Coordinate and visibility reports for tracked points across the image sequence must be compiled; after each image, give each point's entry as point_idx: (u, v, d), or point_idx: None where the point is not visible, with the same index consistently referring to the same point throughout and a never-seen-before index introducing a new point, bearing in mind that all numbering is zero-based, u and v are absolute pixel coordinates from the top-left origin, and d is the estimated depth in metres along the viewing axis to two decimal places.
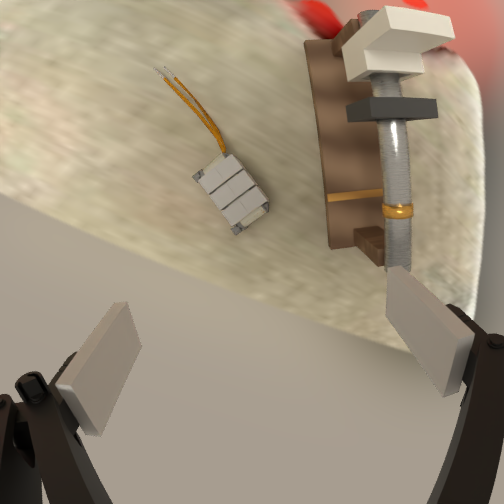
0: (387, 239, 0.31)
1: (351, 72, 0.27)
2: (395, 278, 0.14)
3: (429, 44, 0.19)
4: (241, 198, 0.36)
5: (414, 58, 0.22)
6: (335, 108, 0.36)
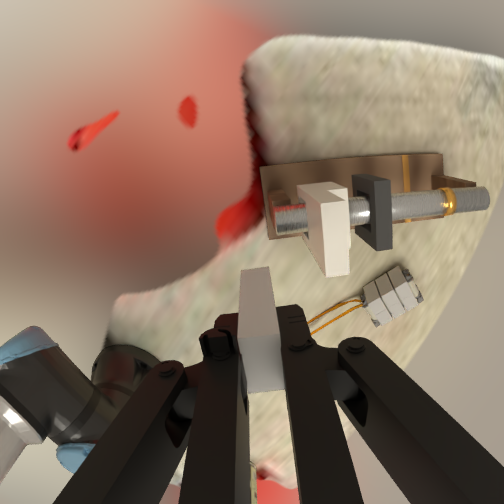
0: None
1: None
2: None
3: None
4: (401, 298, 0.43)
5: None
6: None
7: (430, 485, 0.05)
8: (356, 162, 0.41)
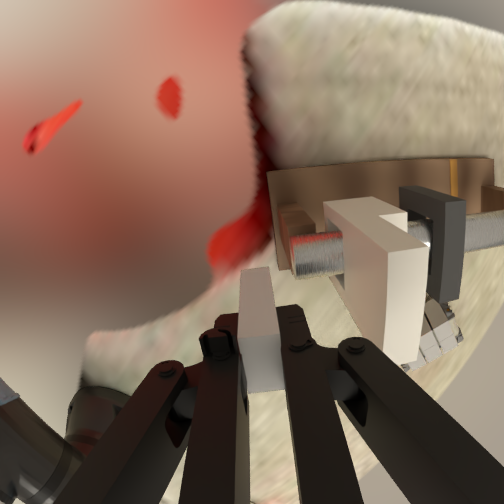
0: None
1: None
2: None
3: None
4: (439, 340, 0.32)
5: None
6: None
7: (430, 485, 0.05)
8: (396, 167, 0.30)
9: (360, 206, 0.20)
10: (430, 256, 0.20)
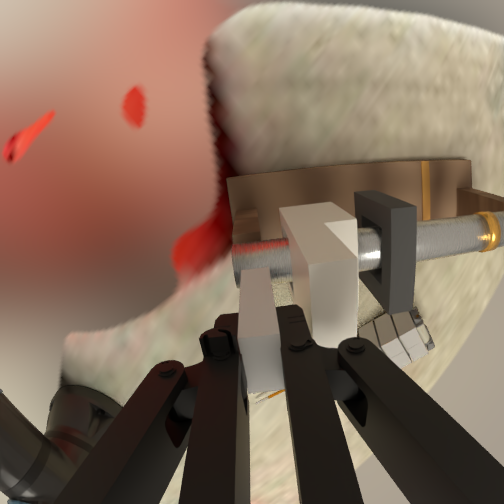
0: None
1: None
2: None
3: None
4: (407, 347, 0.32)
5: None
6: None
7: (430, 485, 0.05)
8: (361, 170, 0.30)
9: (312, 212, 0.21)
10: None
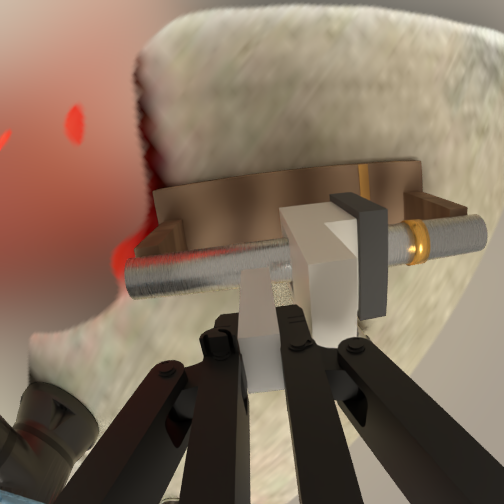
0: None
1: None
2: None
3: None
4: None
5: None
6: None
7: (430, 485, 0.05)
8: (288, 177, 0.30)
9: (312, 212, 0.21)
10: (274, 280, 0.21)
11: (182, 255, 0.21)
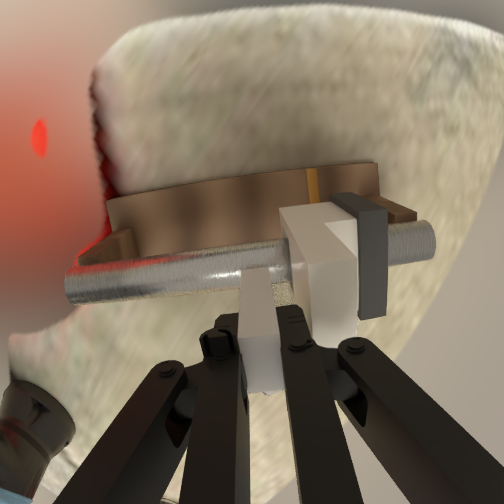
0: None
1: None
2: None
3: None
4: None
5: None
6: None
7: (430, 485, 0.05)
8: (232, 185, 0.31)
9: (312, 212, 0.21)
10: (194, 290, 0.21)
11: (111, 265, 0.21)
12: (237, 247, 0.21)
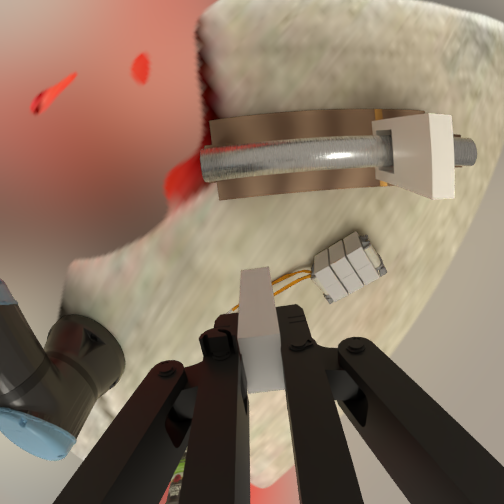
0: None
1: None
2: None
3: None
4: (356, 268, 0.38)
5: None
6: (295, 173, 0.38)
7: (430, 485, 0.05)
8: (320, 115, 0.36)
9: None
10: (318, 164, 0.27)
11: (248, 144, 0.27)
12: (349, 136, 0.26)
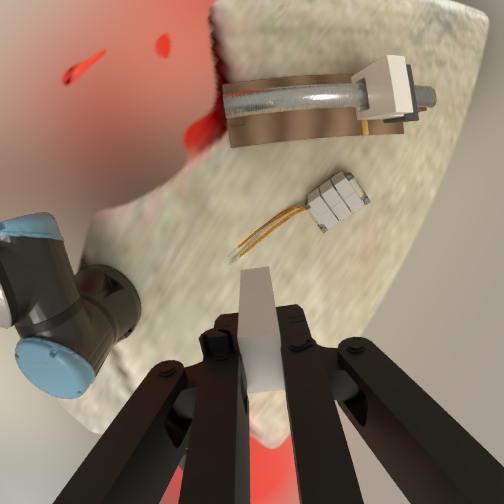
0: None
1: (384, 118, 0.36)
2: None
3: None
4: (343, 197, 0.45)
5: None
6: (293, 124, 0.45)
7: (430, 485, 0.05)
8: (310, 79, 0.43)
9: None
10: (311, 102, 0.34)
11: None
12: (334, 84, 0.34)
